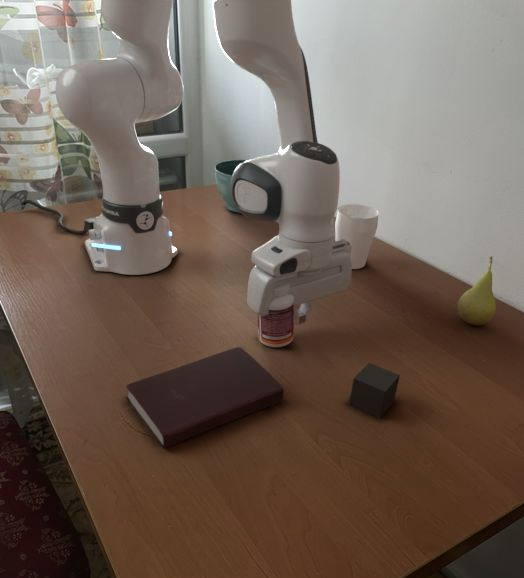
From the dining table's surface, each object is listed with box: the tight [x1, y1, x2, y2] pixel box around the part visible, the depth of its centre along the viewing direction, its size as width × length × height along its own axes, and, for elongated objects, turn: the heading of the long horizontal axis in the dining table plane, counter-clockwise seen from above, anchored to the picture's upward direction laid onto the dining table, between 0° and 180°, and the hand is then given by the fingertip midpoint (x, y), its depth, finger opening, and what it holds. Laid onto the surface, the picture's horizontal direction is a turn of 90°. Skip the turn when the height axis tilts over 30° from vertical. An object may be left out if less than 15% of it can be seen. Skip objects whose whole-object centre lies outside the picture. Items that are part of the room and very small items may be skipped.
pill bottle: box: [256, 283, 295, 348], centre depth 91 cm, size 6×6×11 cm
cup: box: [334, 203, 380, 270], centre depth 120 cm, size 9×9×12 cm
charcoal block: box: [348, 362, 401, 419], centre depth 80 cm, size 5×5×5 cm
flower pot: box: [213, 159, 248, 214], centre depth 146 cm, size 16×16×11 cm
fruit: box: [457, 255, 497, 326], centre depth 100 cm, size 7×8×12 cm
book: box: [125, 346, 285, 449], centre depth 79 cm, size 12×19×3 cm, turn 124°
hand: (298, 322), depth 96 cm, fingers closed
